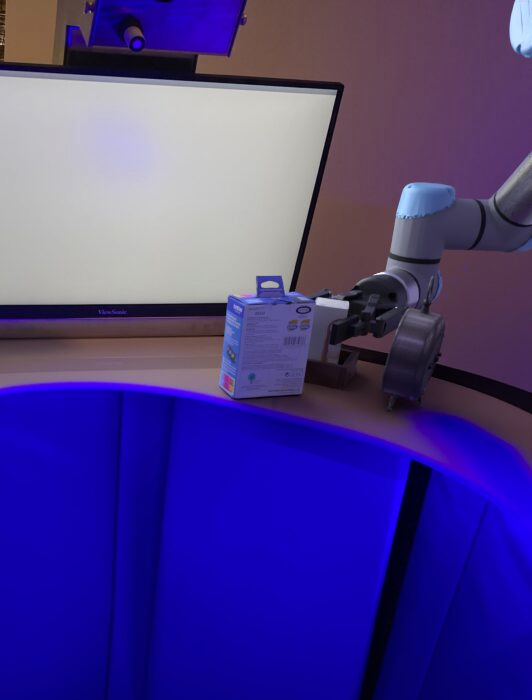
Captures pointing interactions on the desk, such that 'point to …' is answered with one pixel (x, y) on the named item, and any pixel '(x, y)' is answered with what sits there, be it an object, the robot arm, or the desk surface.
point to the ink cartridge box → (266, 341)
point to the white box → (326, 329)
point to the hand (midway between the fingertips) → (310, 328)
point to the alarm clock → (413, 353)
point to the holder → (332, 370)
